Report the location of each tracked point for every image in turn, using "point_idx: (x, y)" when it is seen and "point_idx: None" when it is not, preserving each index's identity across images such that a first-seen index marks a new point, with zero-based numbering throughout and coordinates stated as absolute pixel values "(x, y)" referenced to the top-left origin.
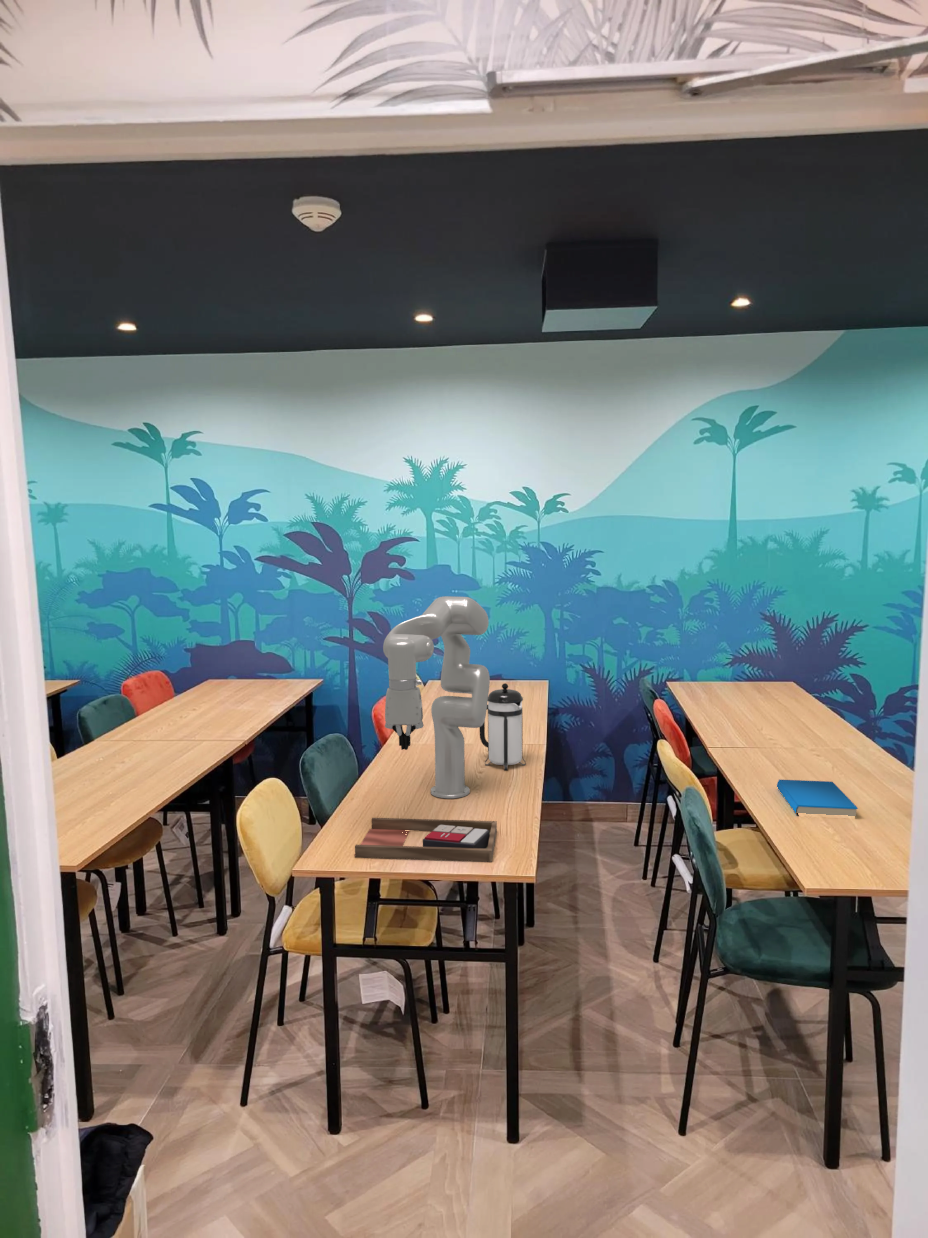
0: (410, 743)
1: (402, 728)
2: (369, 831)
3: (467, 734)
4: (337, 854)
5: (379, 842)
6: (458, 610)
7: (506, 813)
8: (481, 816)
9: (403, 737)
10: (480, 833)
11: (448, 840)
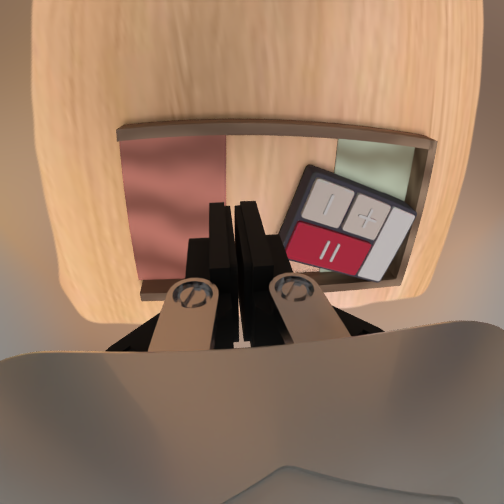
0: (279, 236)
1: (215, 325)
2: (123, 152)
3: None
4: (106, 276)
5: (168, 215)
6: None
7: (445, 30)
8: (398, 37)
9: (238, 337)
10: (399, 238)
11: (335, 270)
